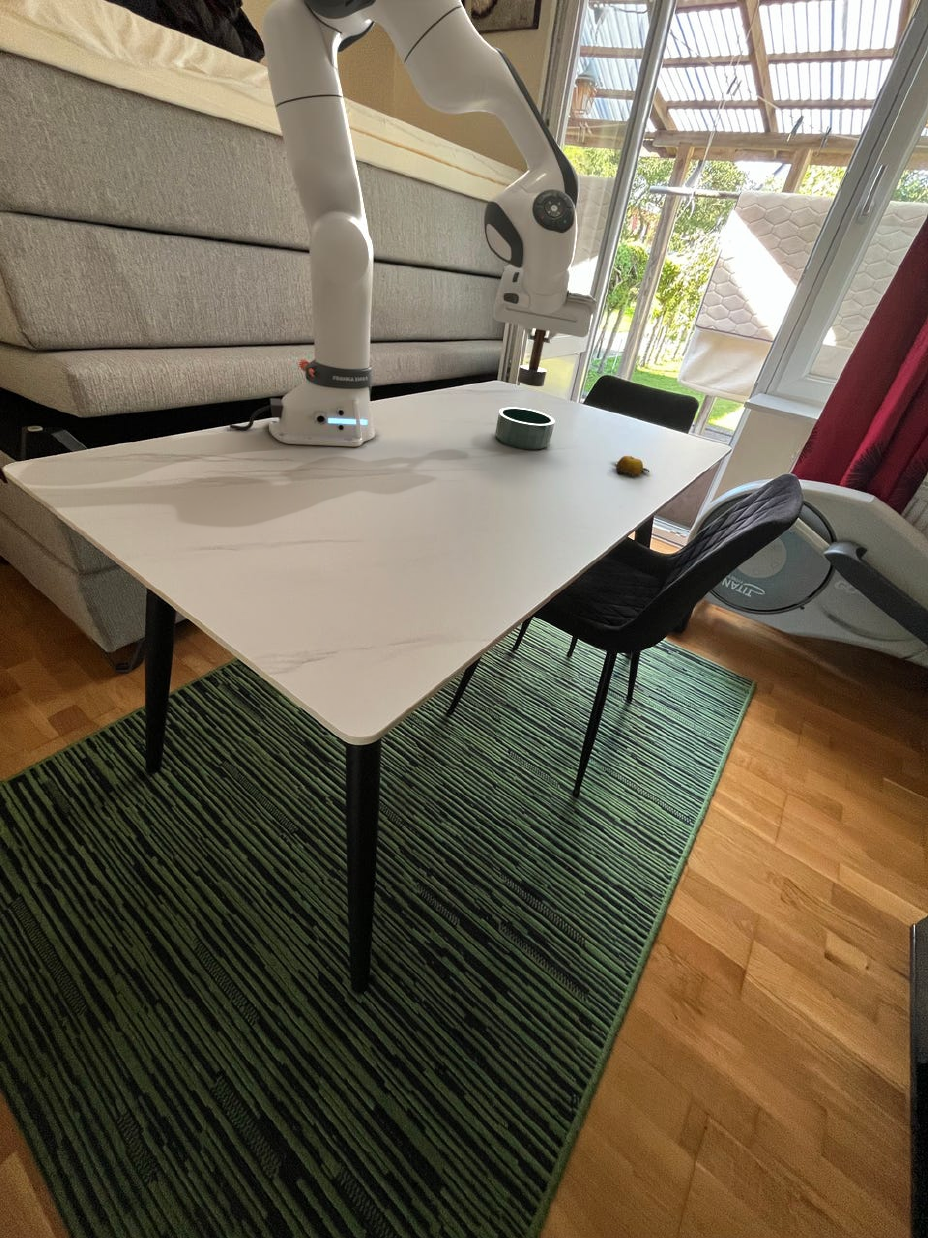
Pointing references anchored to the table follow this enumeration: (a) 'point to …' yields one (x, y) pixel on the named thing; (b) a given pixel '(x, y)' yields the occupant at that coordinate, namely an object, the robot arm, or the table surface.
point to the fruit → (630, 465)
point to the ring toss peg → (534, 363)
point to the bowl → (524, 428)
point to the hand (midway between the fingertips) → (539, 338)
